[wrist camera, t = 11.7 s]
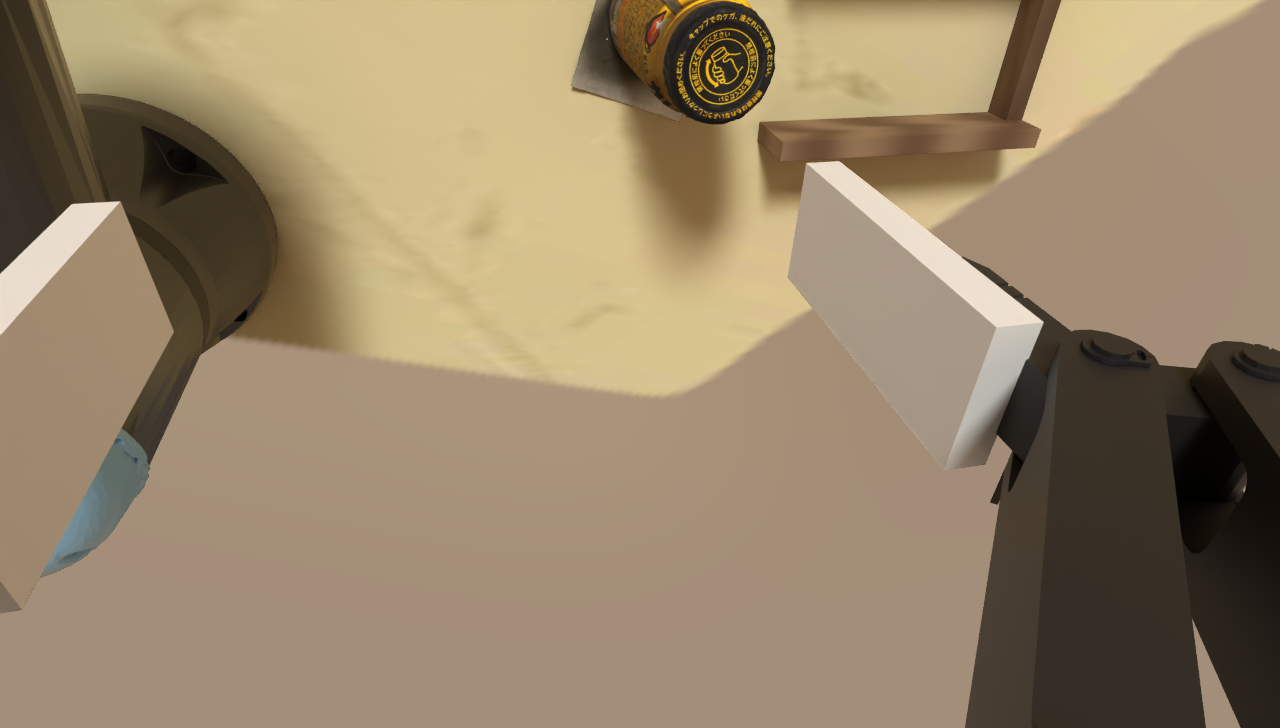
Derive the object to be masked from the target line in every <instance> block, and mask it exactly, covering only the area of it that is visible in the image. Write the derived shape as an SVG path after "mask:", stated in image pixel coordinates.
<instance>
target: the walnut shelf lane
mask: <svg viewBox="0 0 1280 728" xmlns="http://www.w3.org/2000/svg"><path fill="white" fill-rule="evenodd" d="M1060 2H1061V0H1022V1H1021V4H1020V8H1019V11H1018V14H1017V18H1016V21H1015V24H1014V28H1013V31H1012V34H1011V38H1010V41H1009V44H1008V48H1007V51H1006V54H1005V58H1004V61H1003V64H1002V68H1001V71H1000V74H999V78H998V81H997V84H996V88H995V91H994V94H993V98H992V101H991V105H990V108H989V111H988V112H982V113H959V114H936V115H913V116H889V117H866V118H843V119H820V120H797V121H774V122H760V124H759V132H758V141H759V142H760V143H761V144H762V145H763V146H764V147H765V148H766V149H767V150H768V151H769V152H770V153H771V154H773V155H774V156H775V157H776V158H777V159H778V160H779V161H780V162H782V161H800V160H818V159H836V158H855V157H873V156H891V155H909V154H927V153H946V152H964V151H982V150H1000V149H1018V148H1035V146H1036V143H1037V140H1038V137H1039V135H1040V132H1041V129H1039V128H1037V127H1035V126H1033V125H1031V124H1029V123H1027V122H1024V121H1022V118H1023V115H1024V112H1025V109H1026V106H1027V103H1028V100H1029V96H1030V93H1031V90H1032V87H1033V84H1034V81H1035V78H1036V75H1037V72H1038V69H1039V66H1040V63H1041V60H1042V57H1043V54H1044V51H1045V48H1046V45H1047V42H1048V39H1049V36H1050V32H1051V29H1052V26H1053V23H1054V20H1055V17H1056V14H1057V11H1058V8H1059V5H1060Z"/></svg>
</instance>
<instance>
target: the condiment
mask: <svg viewBox="0 0 1280 728" xmlns="http://www.w3.org/2000/svg"><path fill="white" fill-rule="evenodd" d="M607 38H608V40H606V39H607ZM774 54H775V45H774V41H773V38H772V36H771V34H770V31H769V29H768V28H767V26H766V24H765V22H764V21H763V20H762V19H761V18H760V17H759V16H758V14H757V13H756V12H755V11H754V10H753V9H752V7H751V6H750V5H749V3H748V2H747V1H746V0H596V3H595V7H594V10H593V13H592V17H591V21H590V24H589V28H588V31H587V34H586V37H585V40H584V43H583V46H582V50H581V52H580V56H579V60H578V64H577V67H576V71H575V74H574V77H573V80H572V83H571V86H572V87H575V88H578V89H581V90H585V91H588V92H591V93H594V94H597V95H601V96H603V97H607V98H609V99H613V100H616V101H619V102H622V103H625V104H628V105H631V106H636V107H637V108H640V109H643V110H646V111H649V112H651V113H655V114H658V115H661V116H664V117H666V118H669V119H672V120H675V121H678V122H680V120H681V117H682V114H685V115H686V117H689V118H692V119H694V120H696V121H699V122H701V123H707V124H725V123H728V122H730V121H734V120H736V119H740V118H742V117H743V116H744V115H745V114H746V113H747V112H749V111H750V110H751V109H752V108H753V107H754V106H755V105H756V104H757V103H759V102H760V100H761V99H762V97H763V96H764V94H765V92H766V90H767V88H768V86H769V84H770V82H771V78H772V76H773V73H774V69H775V64H774Z"/></svg>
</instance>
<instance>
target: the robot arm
mask: <svg viewBox="0 0 1280 728" xmlns="http://www.w3.org/2000/svg"><path fill="white" fill-rule="evenodd" d="M276 258H277V235H276V229H275V225H274V220H273V217H272V214H271V211H270V209H269V206H268V204H267V202H266V200H265V198H264V196H263V194H262V192H261V190H260V189H259V187H258V185H257V184H256V182H255V181H254V179H253V178H252V177H251V175H250V174H249V173H248V172H247V170H246V169H245V168H244V167H243V165H242V164H241V163H240V162H239V161H238V160H237V159H236V158H235V157H234V156H233V155H232V154H231V153H230V152H229V151H228V150H227V149H225V148H224V147H223V146H222V145H221V144H220V143H218V142H217V141H216V140H215V139H213V138H212V137H211V136H209V135H208V134H206V133H205V132H203V131H202V130H200V129H199V128H197V127H196V126H194V125H192V124H191V123H189V122H187V121H185V120H183V119H181V118H179V117H177V116H175V115H173V114H171V113H169V112H166V111H164V110H162V109H159V108H156V107H154V106H151V105H148V104H145V103H142V102H138V101H134V100H130V99H126V98H120V97H115V96H108V95H98V94H76V91H75V88H74V85H73V82H72V79H71V76H70V73H69V70H68V67H67V63H66V60H65V57H64V54H63V51H62V48H61V45H60V42H59V39H58V36H57V33H56V30H55V27H54V24H53V21H52V18H51V15H50V11H49V8H48V5H47V2H46V0H0V613H5V612H11V611H18V610H22V609H23V607H24V605H25V603H26V602H27V600H28V598H29V596H30V594H31V593H32V591H33V589H34V587H35V585H36V583H37V582H38V580H39V578H40V577H43V576H46V575H49V574H52V573H54V572H57V571H60V570H62V569H64V568H65V567H68V566H70V565H72V564H74V563H76V562H77V561H79V560H81V559H82V558H84V557H85V556H87V555H88V553H89V552H90V551H91V550H94V549H95V548H97V546H98V545H99V544H100V543H102V542H103V541H104V540H105V539H107V537H108V536H109V535H110V534H111V532H112V531H113V530H114V529H115V527H116V525H117V524H118V522H119V521H120V519H121V518H122V516H123V515H124V513H125V512H126V510H127V509H128V507H129V506H130V504H131V503H132V501H133V499H134V498H135V497H136V496H137V495H138V494H139V493H140V492H141V490H142V489H143V488H144V486H145V483H146V480H147V478H148V477H149V475H148V471H149V469H150V467H149V465H150V463H151V461H152V459H153V456H154V454H155V452H156V450H157V448H158V445H159V443H160V441H161V439H162V437H163V435H164V432H165V430H166V428H167V426H168V424H169V422H170V419H171V417H172V414H173V413H174V411H175V409H176V406H177V404H178V402H179V400H180V398H181V395H182V393H183V391H184V389H185V387H186V384H187V382H188V380H189V378H190V376H191V374H192V371H193V369H194V367H195V365H196V363H197V360H198V359H199V356H200V355H201V354H202V353H204V352H205V351H207V350H208V349H210V348H211V347H213V346H214V345H216V344H217V343H219V342H220V341H221V340H223V339H225V338H226V337H228V336H229V335H231V334H232V333H233V332H235V331H236V330H237V329H239V328H240V327H241V326H242V325H243V324H244V323H245V322H246V321H247V320H248V319H249V318H250V317H251V316H252V314H253V313H254V312H255V311H256V309H257V308H258V306H259V305H260V303H261V301H262V299H263V298H264V295H265V293H266V291H267V288H268V286H269V283H270V281H271V278H272V275H273V272H274V269H275V264H276ZM788 279H789V280H790V281H791V282H792V283H793V285H794V286H795V287H796V288H797V290H798V291H799V292H800V293H801V295H802V296H803V297H804V298H805V300H806V301H807V302H808V303H809V305H810V306H811V307H812V308H813V309H814V311H815V312H816V313H817V314H818V316H819V317H820V318H821V319H822V321H823V322H824V323H825V324H826V325H827V327H828V328H829V329H830V331H831V332H832V333H833V334H834V335H835V337H836V338H837V339H838V340H839V342H840V343H841V344H842V345H843V347H844V348H845V349H846V350H847V352H848V353H849V354H850V355H851V357H852V358H853V359H854V360H855V361H856V363H857V364H858V365H859V366H860V368H861V369H862V370H863V371H864V373H865V374H866V375H867V376H868V377H869V379H870V380H871V381H872V383H873V384H874V385H875V386H876V387H877V389H878V390H879V391H880V392H881V394H882V395H883V396H884V397H885V399H886V400H887V401H888V402H889V403H890V405H891V406H892V407H893V408H894V410H895V411H896V412H897V413H898V415H899V416H900V417H901V418H902V420H903V421H904V422H905V423H906V425H907V426H908V427H909V428H910V429H911V431H912V432H913V433H914V434H915V436H916V437H917V438H918V439H919V441H920V442H921V443H922V444H923V446H924V447H925V448H926V449H927V451H928V452H929V453H930V454H931V455H932V457H933V458H934V459H935V461H936V462H937V463H938V464H939V465H940V466H941V468H942V469H943V470H944V471H945V470H951V469H958V468H965V467H971V466H978V465H984V464H986V461H987V459H988V457H989V454H990V451H991V449H992V447H993V444H994V442H995V439H996V437H997V435H998V436H999V437H1000V438H1001V439H1002V440H1003V441H1004V442H1005V443H1006V444H1007V445H1008V446H1009V447H1010V448H1011V450H1012V453H1011V455H1010V458H1009V460H1008V463H1007V465H1006V467H1005V469H1004V471H1003V474H1002V476H1001V479H1000V481H999V483H998V485H997V488H996V490H995V492H994V494H993V497H992V499H991V503H994V504H998V503H999V501H1000V503H999V509H998V516H997V522H996V529H995V535H994V542H993V549H992V555H991V561H990V568H989V575H988V581H987V588H986V594H985V601H984V607H983V614H982V621H981V627H980V633H979V640H978V647H977V653H976V659H975V667H974V673H973V680H972V686H971V692H970V699H969V706H968V712H967V718H966V725H965V728H1206V725H1205V718H1204V710H1203V702H1202V694H1201V686H1200V678H1199V670H1198V662H1197V655H1196V647H1195V639H1194V631H1193V623H1192V619H1193V621H1194V623H1195V626H1196V628H1197V630H1198V632H1199V635H1200V637H1201V639H1202V641H1203V644H1204V646H1205V648H1206V650H1207V652H1208V655H1209V657H1210V659H1211V662H1212V664H1213V666H1214V669H1215V671H1216V673H1217V675H1218V678H1219V680H1220V682H1221V684H1222V687H1223V689H1224V691H1225V693H1226V696H1227V698H1228V700H1229V702H1230V705H1231V707H1232V709H1233V711H1234V713H1235V716H1236V718H1237V720H1238V723H1239V725H1240V727H1241V728H1280V351H1277V350H1275V349H1273V348H1272V349H1271V350H1270V349H1269V347H1266V346H1263V345H1260V344H1255V345H1253V344H1248V343H1244V342H1231V341H1223V342H1219V343H1214V344H1212V345H1211V346H1210V347H1209V348H1208V350H1207V351H1206V353H1205V355H1204V356H1203V358H1202V360H1201V361H1200V363H1199V365H1198V367H1197V368H1185V367H1174V366H1163V365H1159V364H1158V362H1157V360H1156V358H1155V356H1153V355H1152V354H1151V353H1149V352H1148V351H1147V350H1146V349H1145V348H1144V347H1142V346H1140V345H1138V344H1136V343H1134V342H1133V341H1131V340H1129V339H1126V338H1123V337H1120V336H1117V335H1114V334H1111V333H1107V332H1101V331H1095V330H1074V331H1072V332H1071V331H1070V330H1069V329H1067V328H1066V327H1065V326H1063V325H1062V324H1061V323H1060V322H1058V321H1057V320H1056V319H1054V318H1053V317H1052V316H1050V315H1049V314H1048V313H1047V312H1045V311H1044V310H1043V309H1041V308H1040V307H1039V306H1037V305H1036V304H1035V303H1033V302H1032V301H1031V300H1030V299H1028V298H1023V294H1022V293H1020V292H1019V291H1018V290H1017V289H1015V288H1014V287H1012V286H1008V283H1007V282H1006V281H1005V280H1004V279H1002V278H1001V277H1000V276H998V275H997V274H996V273H994V272H993V271H992V270H990V269H989V268H987V267H985V266H982V265H980V264H978V263H976V262H973V261H971V260H969V259H967V258H965V257H960V256H959V255H958V254H957V253H955V252H954V251H953V250H951V249H950V248H949V247H947V246H946V245H945V244H944V243H942V242H941V241H940V240H939V239H937V238H936V237H935V236H934V235H932V234H931V233H930V232H929V231H927V230H926V229H925V228H924V227H922V226H921V225H920V224H918V223H917V222H916V221H915V220H913V219H912V218H911V217H910V216H908V215H907V214H906V213H904V212H903V211H902V210H901V209H899V208H898V207H897V206H896V205H894V204H893V203H892V202H890V201H889V200H888V199H887V198H885V197H884V196H883V195H882V194H880V193H879V192H878V191H877V190H875V189H874V188H873V187H871V186H870V185H869V184H868V183H866V182H865V181H864V180H863V179H861V178H860V177H859V176H857V175H856V174H855V173H854V172H852V171H851V170H850V169H849V168H847V167H846V166H845V165H844V164H842V163H841V162H840V161H835V162H817V163H806V168H805V174H804V180H803V187H802V193H801V199H800V205H799V211H798V217H797V223H796V229H795V236H794V242H793V248H792V254H791V260H790V266H789V272H788ZM1245 486H1246V489H1245V492H1243V488H1244V487H1245Z"/></svg>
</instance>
